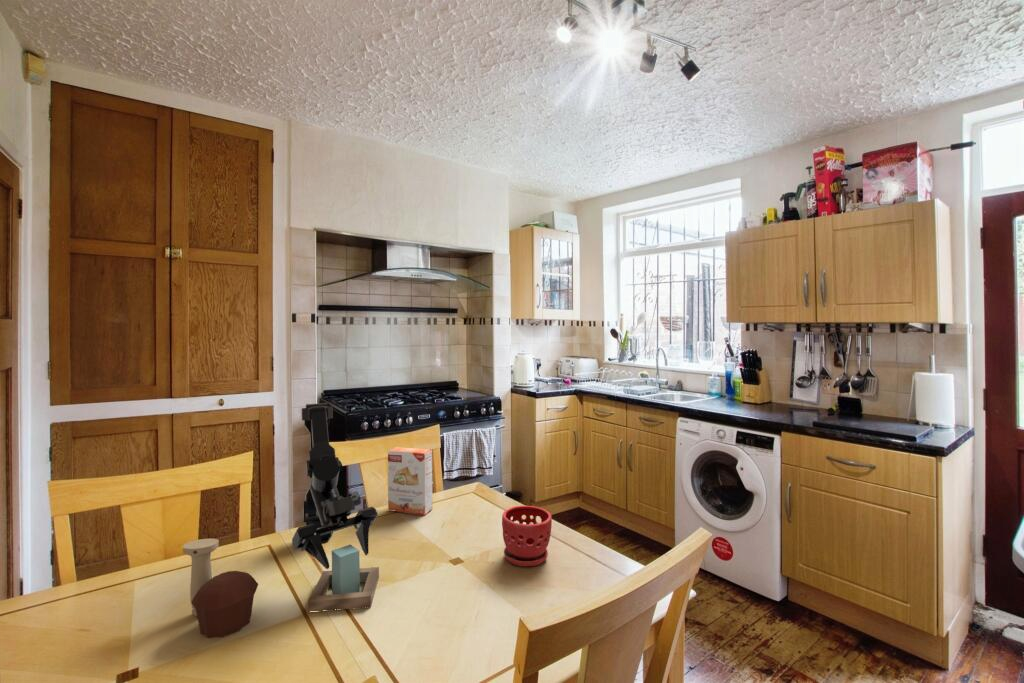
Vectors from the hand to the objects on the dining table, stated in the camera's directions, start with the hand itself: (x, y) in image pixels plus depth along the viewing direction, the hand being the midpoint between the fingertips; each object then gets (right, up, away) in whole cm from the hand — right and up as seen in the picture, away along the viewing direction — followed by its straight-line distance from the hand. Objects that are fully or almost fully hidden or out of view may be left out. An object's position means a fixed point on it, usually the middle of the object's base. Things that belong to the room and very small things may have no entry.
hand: (348, 561), depth 106 cm
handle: (-29, -8, -6) cm, 31 cm away
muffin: (-21, -9, -10) cm, 25 cm away
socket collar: (-1, -8, +1) cm, 8 cm away
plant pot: (+41, -8, +17) cm, 45 cm away
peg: (-1, -8, +1) cm, 8 cm away
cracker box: (+3, -8, +52) cm, 53 cm away
